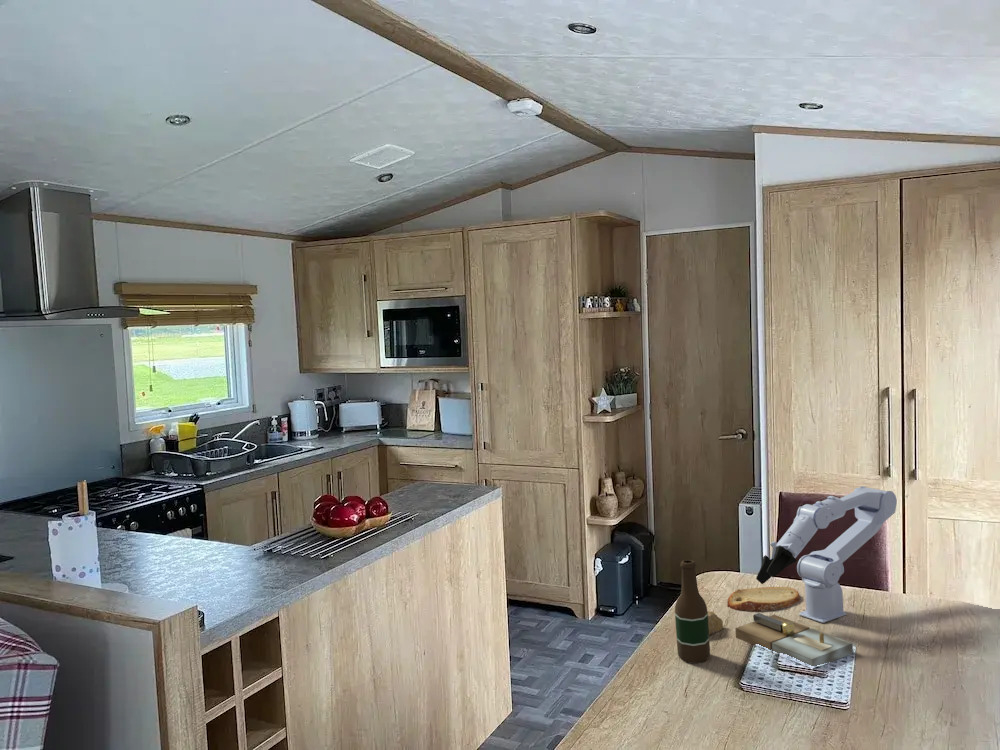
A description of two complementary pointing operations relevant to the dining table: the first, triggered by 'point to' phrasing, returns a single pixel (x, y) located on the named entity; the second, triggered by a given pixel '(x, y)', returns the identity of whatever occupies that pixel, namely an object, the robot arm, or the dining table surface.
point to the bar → (775, 624)
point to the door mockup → (796, 642)
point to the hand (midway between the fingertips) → (764, 578)
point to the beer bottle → (691, 618)
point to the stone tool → (714, 622)
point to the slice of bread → (763, 598)
